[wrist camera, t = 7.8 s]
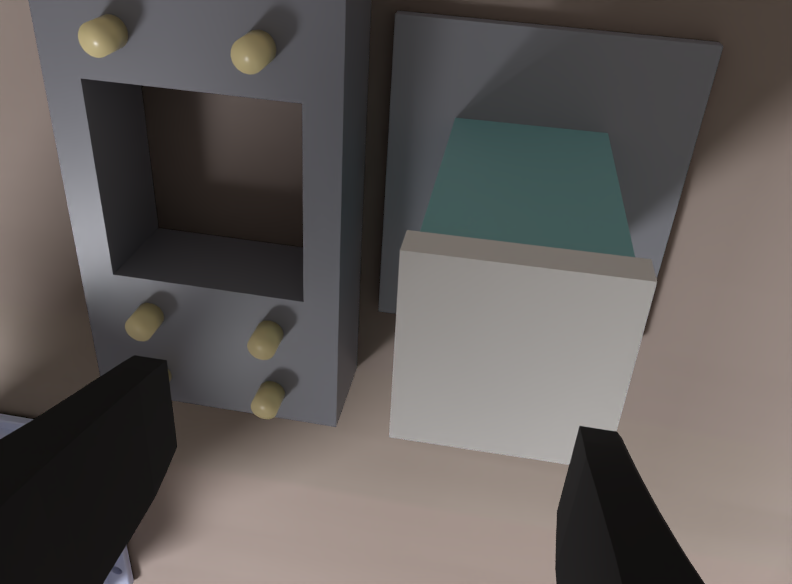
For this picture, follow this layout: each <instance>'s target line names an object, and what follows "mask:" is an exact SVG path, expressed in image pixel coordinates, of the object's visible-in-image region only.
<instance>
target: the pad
mask: <svg viewBox="0 0 792 584" xmlns="http://www.w3.org/2000/svg"><path fill="white" fill-rule="evenodd" d="M722 49H723V45H722V44H721V43H720V42H713V41H703V40H693V39H682V38H672V37H662V36H652V35H642V34H631V33H621V32H611V31H601V30H591V29H580V28H570V27H560V26H550V25H540V24H529V23H519V22H509V21H499V20H489V19H478V18H468V17H458V16H448V15H438V14H427V13H417V12H407V11H397V12H396V13H395V28H394V45H393V63H392V81H391V98H390V116H389V134H388V151H387V169H386V187H385V204H384V222H383V240H382V257H381V275H380V293H379V310H378V311H379V312H386V313H393V314H396V309H397V292H398V274H399V257H400V248H401V246H402V243H403V240H404V237H405V234H406V231H407V230H412V231H420V229H421V226H422V223H423V220H424V217H425V213H426V210H427V207H428V204H429V201H430V197H431V194H432V191H433V188H434V185H435V181H436V178H437V175H438V172H439V168H440V165H441V162H442V159H443V156H444V152H445V149H446V146H447V143H448V140H449V136H450V133H451V130H452V127H453V124H454V120H455V118H464V119H474V120H484V121H493V122H503V123H513V124H523V125H533V126H543V127H553V128H562V129H572V130H582V131H592V132H602V133H608V136H609V140H610V145H611V149H612V154H613V158H614V163H615V168H616V172H617V177H618V181H619V186H620V190H621V195H622V199H623V204H624V209H625V213H626V218H627V222H628V227H629V231H630V236H631V241H632V245H633V250H634V254H635V257H637V258H645V259H651V260H652V263H653V267H654V271H655V275H656V279H657V276H658V273H659V269H660V266H661V262H662V259H663V255H664V252H665V248H666V245H667V241H668V238H669V234H670V231H671V227H672V224H673V220H674V217H675V213H676V210H677V206H678V203H679V199H680V196H681V192H682V189H683V185H684V182H685V178H686V175H687V172H688V168H689V165H690V161H691V158H692V154H693V151H694V147H695V144H696V140H697V137H698V133H699V130H700V126H701V123H702V119H703V116H704V112H705V109H706V105H707V102H708V98H709V95H710V91H711V88H712V84H713V81H714V77H715V74H716V70H717V67H718V63H719V60H720V56H721V53H722Z"/></svg>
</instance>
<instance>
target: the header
mask: <svg viewBox="0 0 792 584" xmlns="http://www.w3.org/2000/svg"><path fill="white" fill-rule="evenodd" d="M28 1H29V6H30V11H31V17H32V22H33V27H34V32H35V37H36V43H37V48H38V53H39V58H40V64H41V69H42V74H43V79H44V84H45V90H46V95H47V100H48V105H49V111H50V116H51V121H52V126H53V132H54V137H55V142H56V147H57V152H58V158H59V163H60V168H61V173H62V179H63V184H64V189H65V194H66V199H67V205H68V210H69V215H70V220H71V226H72V231H73V236H74V241H75V247H76V252H77V257H78V262H79V267H80V273H81V278H82V283H83V288H84V294H85V299H86V304H87V309H88V314H89V320H90V325H91V330H92V335H93V341H94V346H95V351H96V356H97V362H98V367H99V372H100V376H102V375H103V374H105V373H106V372H108V371H110V370H111V369H113V368H114V367H116V366H117V365H119V364H120V363H122V362H124V361H125V360H127V359H129V358H130V357H132V356H134V355H137V356H143V357H149V358H156V359H162V360H167V366H168V374H169V383H170V391H171V399H172V400H173V401H179V402H185V403H191V404H197V405H204V406H210V407H216V408H222V409H228V410H234V411H241V412H247V413H253V414H255V415H256V416H257V417H259V418H262V419H272V418H274V417H278V418H284V419H290V420H296V421H302V422H309V423H315V424H321V425H327V426H333V427H336V426H337V423H338V420H339V417H340V414H341V412H342V409H343V406H344V403H345V400H346V397H347V394H348V392H349V389H350V386H351V383H352V380H353V377H354V374H355V372H356V369H357V348H358V323H359V298H360V273H361V248H362V223H363V198H364V173H365V148H366V123H367V98H368V73H369V48H370V23H371V0H28ZM141 85H143V86H151V87H160V88H169V89H178V90H187V91H195V92H204V93H213V94H222V95H231V96H239V97H248V98H257V99H266V100H275V101H283V102H292V103H301V104H302V153H303V248H302V247H295V246H288V245H280V244H273V243H265V242H258V241H251V240H243V239H236V238H229V237H221V236H214V235H206V234H199V233H192V232H184V231H177V230H170V229H162V228H158V219H157V211H156V203H155V195H154V187H153V178H152V170H151V162H150V154H149V146H148V138H147V129H146V121H145V113H144V105H143V97H142V89H141Z"/></svg>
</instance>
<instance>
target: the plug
mask: <svg viewBox="0 0 792 584" xmlns="http://www.w3.org/2000/svg"><path fill="white" fill-rule="evenodd" d="M656 285H657V279H656V275H655V271H654V267H653V263H652V260H651V259H645V258H637V257H635V254H634V250H633V245H632V241H631V236H630V231H629V227H628V222H627V218H626V213H625V209H624V204H623V199H622V195H621V190H620V186H619V181H618V177H617V172H616V168H615V163H614V158H613V154H612V149H611V145H610V140H609V136H608V133H602V132H592V131H582V130H572V129H562V128H553V127H543V126H533V125H523V124H513V123H503V122H493V121H484V120H474V119H464V118H455V120H454V124H453V127H452V130H451V133H450V136H449V140H448V143H447V146H446V149H445V152H444V156H443V159H442V162H441V165H440V168H439V172H438V175H437V178H436V181H435V185H434V188H433V191H432V194H431V197H430V201H429V204H428V207H427V210H426V213H425V217H424V220H423V223H422V226H421V229H420V231H412V230H407V231H406V234H405V237H404V240H403V243H402V246H401V248H400V257H399V274H398V292H397V309H396V326H395V344H394V361H393V378H392V396H391V413H390V430H389V437H391V438H398V439H404V440H411V441H417V442H424V443H431V444H437V445H444V446H450V447H457V448H463V449H470V450H476V451H483V452H489V453H496V454H502V455H509V456H515V457H522V458H529V459H535V460H542V461H548V462H555V463H561V464H568V465H569V464H570V460H571V456H572V453H573V449H574V445H575V441H576V437H577V434H578V430H579V426H585V427H591V428H597V429H604V430H610V431H617V428H618V424H619V420H620V417H621V413H622V409H623V406H624V402H625V398H626V395H627V391H628V387H629V384H630V380H631V376H632V373H633V369H634V365H635V362H636V358H637V354H638V351H639V347H640V343H641V340H642V336H643V332H644V329H645V325H646V321H647V318H648V314H649V310H650V307H651V303H652V299H653V296H654V292H655V288H656Z"/></svg>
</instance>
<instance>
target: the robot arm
mask: <svg viewBox="0 0 792 584" xmlns="http://www.w3.org/2000/svg"><path fill="white" fill-rule="evenodd" d="M176 448H177V442H176V433H175V425H174V416H173V408H172V399H171V391H170V383H169V374H168V366H167V360H162V359H156V358H149V357H143V356H137V355H134V356H132V357H130V358H129V359H127V360H125V361H124V362H122V363H120V364H119V365H117V366H116V367H114V368H113V369H111V370H110V371H108V372H106V373H105V374H103V375H102V376H100V377H99V378H97V379H96V380H94V381H93V382H91V383H90V384H88V385H87V386H85V387H84V388H82V389H81V390H79V391H77V392H76V393H74V394H73V395H71V396H70V397H68V398H67V399H65V400H63V401H62V402H60V403H59V404H57V405H56V406H54V407H52V408H51V409H49V410H48V411H46V412H45V413H43V414H41V415H40V416H38V417H37V418H35V419H29V418H23V417H17V416H11V415H5V414H0V584H133V582H134V580H133V575H132V570H131V564H130V559H129V554H128V549H127V543H128V542H129V540H130V539H131V537H132V535H133V534H134V532H135V530H136V529H137V527H138V525H139V523H140V522H141V520H142V518H143V517H144V515H145V513H146V512H147V510H148V508H149V507H150V505H151V503H152V501H153V500H154V498H155V496H156V494H157V492H158V489H159V487H160V485H161V483H162V481H163V479H164V476H165V474H166V472H167V469H168V467H169V465H170V462H171V460H172V457H173V455H174V453H175V450H176ZM555 569H556V582H557V584H705V583H704V582H703V580H702V579H701V577H700V576H699V574H698V573H697V571H696V570H695V568H694V567H693V565H692V564H691V562H690V561H689V559H688V558H687V556H686V555H685V553H684V551H683V550H682V548H681V547H680V545H679V543H678V542H677V540H676V538H675V537H674V535H673V533H672V532H671V530H670V528H669V527H668V525H667V523H666V522H665V520H664V518H663V516H662V515H661V513H660V511H659V510H658V508H657V506H656V504H655V502H654V501H653V499H652V497H651V495H650V493H649V491H648V490H647V488H646V486H645V484H644V482H643V480H642V478H641V476H640V474H639V472H638V470H637V469H636V467H635V465H634V463H633V461H632V459H631V456H630V454H629V452H628V450H627V448H626V446H625V444H624V442H623V440H622V438H621V436H620V435H619V434H618V432H616V431H610V430H604V429H597V428H591V427H585V426H579V430H578V434H577V437H576V441H575V445H574V449H573V453H572V456H571V460H570V464H569V468H568V472H567V476H566V479H565V483H564V487H563V491H562V495H561V498H560V502H559V506H558V510H557V529H556V567H555Z"/></svg>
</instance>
